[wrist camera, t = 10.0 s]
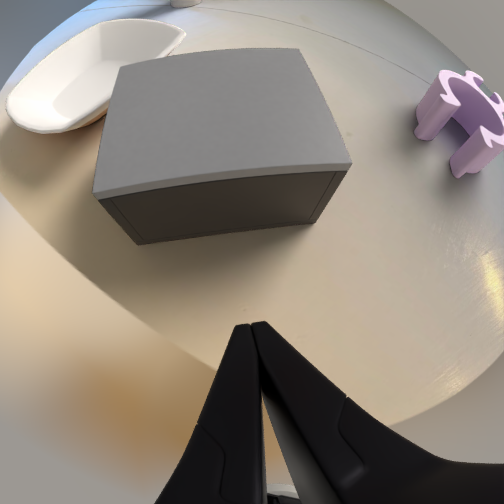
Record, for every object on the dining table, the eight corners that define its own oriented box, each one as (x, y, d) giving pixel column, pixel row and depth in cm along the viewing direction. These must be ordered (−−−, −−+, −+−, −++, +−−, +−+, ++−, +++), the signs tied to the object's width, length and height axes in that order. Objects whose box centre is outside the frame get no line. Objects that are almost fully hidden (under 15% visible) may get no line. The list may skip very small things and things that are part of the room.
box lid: (122, 73, 18) (119, 66, 17) (297, 55, 19) (298, 48, 19) (97, 200, 14) (91, 193, 13) (348, 171, 16) (353, 163, 15)
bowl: (211, 61, 29) (209, 28, 24) (81, 183, 23) (56, 152, 18) (109, 39, 32) (102, 16, 27) (9, 128, 26) (-8, 106, 21)
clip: (443, 85, 33) (460, 59, 26) (494, 137, 31) (516, 114, 24) (398, 120, 28) (422, 81, 22) (469, 194, 26) (504, 165, 19)
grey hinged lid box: (141, 136, 25) (120, 78, 18) (286, 120, 26) (299, 60, 19) (137, 245, 22) (97, 200, 14) (315, 223, 23) (348, 171, 16)
